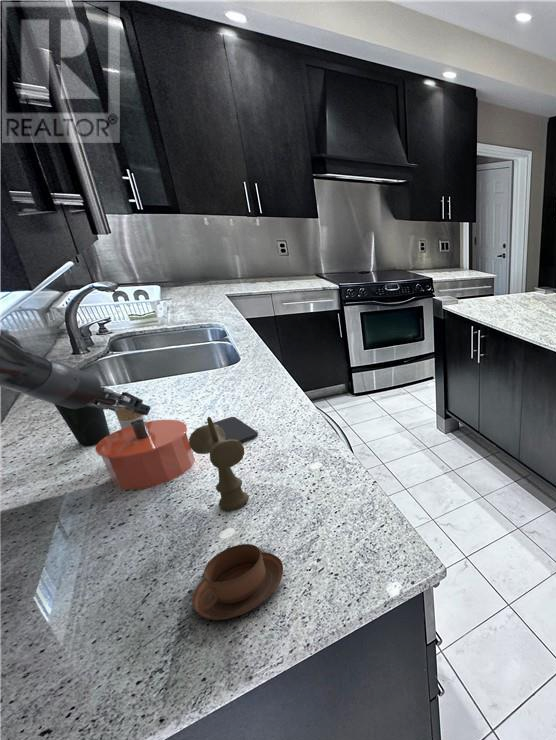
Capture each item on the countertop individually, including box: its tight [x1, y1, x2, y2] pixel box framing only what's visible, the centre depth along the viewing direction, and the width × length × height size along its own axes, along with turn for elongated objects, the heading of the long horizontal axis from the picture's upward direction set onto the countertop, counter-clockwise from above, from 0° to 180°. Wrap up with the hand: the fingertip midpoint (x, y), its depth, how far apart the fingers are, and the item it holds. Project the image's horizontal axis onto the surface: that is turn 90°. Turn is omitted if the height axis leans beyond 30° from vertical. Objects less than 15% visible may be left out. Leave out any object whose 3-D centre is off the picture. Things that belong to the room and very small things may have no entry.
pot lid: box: [94, 419, 188, 458], centre depth 84 cm, size 15×15×5 cm
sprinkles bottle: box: [113, 393, 147, 430], centre depth 93 cm, size 5×5×13 cm
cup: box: [53, 404, 111, 447], centre depth 98 cm, size 8×8×12 cm
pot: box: [101, 432, 196, 491], centre depth 87 cm, size 14×14×10 cm
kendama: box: [188, 416, 250, 511], centre depth 78 cm, size 6×10×20 cm, turn 55°
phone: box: [213, 416, 259, 443], centre depth 106 cm, size 7×1×15 cm
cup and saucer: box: [191, 543, 284, 621], centre depth 63 cm, size 12×12×6 cm
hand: (137, 410), depth 94 cm, fingers closed on sprinkles bottle, 4 cm apart
